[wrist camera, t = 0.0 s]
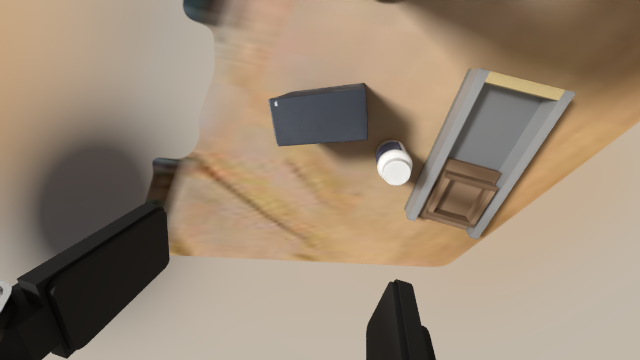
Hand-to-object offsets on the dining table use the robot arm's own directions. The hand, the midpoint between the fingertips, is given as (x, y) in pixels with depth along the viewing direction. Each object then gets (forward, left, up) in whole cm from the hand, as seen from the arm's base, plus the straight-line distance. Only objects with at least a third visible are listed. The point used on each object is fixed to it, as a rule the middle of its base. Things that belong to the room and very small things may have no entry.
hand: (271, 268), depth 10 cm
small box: (-1, -3, -37) cm, 37 cm away
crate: (+8, +23, -36) cm, 43 cm away
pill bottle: (+4, +10, -37) cm, 39 cm away
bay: (+1, +23, -37) cm, 43 cm away
